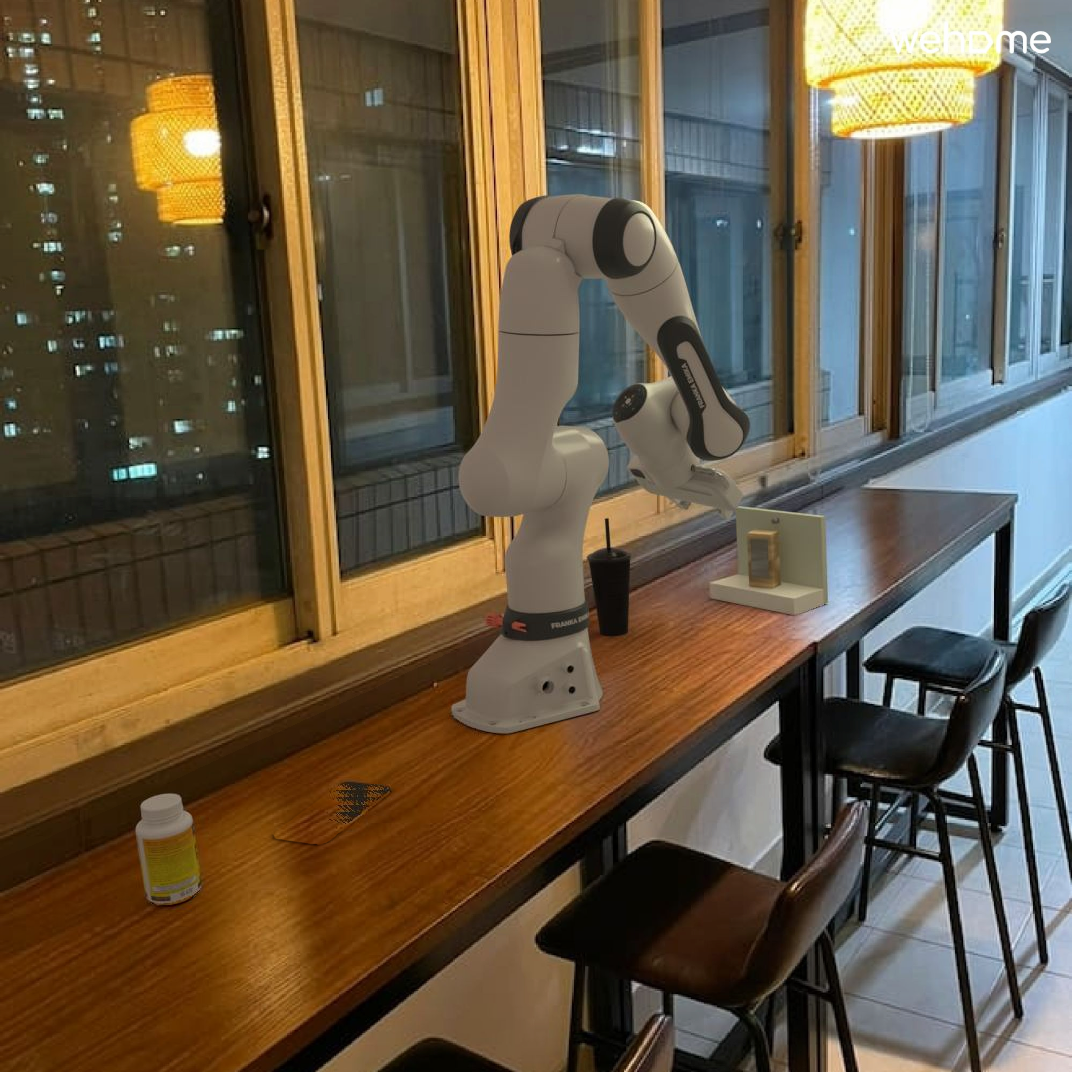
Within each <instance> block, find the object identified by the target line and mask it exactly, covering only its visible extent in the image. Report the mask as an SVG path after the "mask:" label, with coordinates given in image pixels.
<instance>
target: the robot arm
mask: <svg viewBox="0 0 1072 1072" xmlns="http://www.w3.org/2000/svg"><path fill="white" fill-rule="evenodd" d="M508 238H509V240H508V241H509V249H510V252H511V257H510V258H509V259H508V261H507V262H506V265H505V269H504V270H505V271H504V275H503V279H502V283H501V291H500V292H501V293H500V298H499V300H500V301H499V306H498V307H499V309H498V312H499V313H498V325H497V326H498V331H497V332H498V333H497V335H498V337H497V339H498V340H497V367H496V369H497V370H496V384H495V389H494V390H495V392H494V396H493V400H492V402H491V407H490V409H489V413H488V416H487V419H486V421H485V423H484V426H483V429H482V430H481V433H480V435H479V436H478V438H477V440H476V442H475V443H474V445H473V446H472V447H471V448H470V449H469V450H468V451H467V452H466V453H465V455H464V456H463V458H462V460H461V462H460V465H459V468H458V469H459V470H458V486H459V490H460V491H459V492H460V493H461V495H462V498H463V499H464V501H465V503H466V504H467V506H468V507H469V508H470V509H471V510H472V511H473V512H474V513H476V514H477V515H479V516H484V517H491V518H493V517H495V518H511V517H512V518H513V517H518V516H520V515H521V516H522V517H521V521H520V524H519V528H518V530H517V532H516V535H515V536H514V538H513V539H512V540H511V541H510V543H509V545H508V546H507V548H506V550H505V554H504V570H505V580H506V583H505V584H506V591H507V592H506V593H507V594H506V595H507V605H506V606H505V611H504V614H503V616H502V614H500V613H496V612H493V611H491V612H489V613H487V614H486V616H485V620H484V622H485V624H486V625H487V626H488V627H491V628H492V627H494V628H495V629H499V628H500V629H499V633H500V635H498V637H497V638H496V639H495V640H494V641H493V642H492V644H491V645H490V646H489V647H488V648H487V650H486V651H485V652H484V653H483V654H482V655H481V656H480V657H479V659H478V660H477V661H476V662H475V663H474V664H473V666H471V667H470V669H469V670H468V673H467V677H466V683H465V684H466V685H465V699H462V700H460V701H458V702H456V703H453V704H452V705H451V706H450V707H451V712H452V713H451V716H452V715H453V716H454V717H453V716H452V717H453V719H455V718H456V719H457V720H459V721H460V722H459V721H458V722H459V723H461V722H463V723H464V724H463V723H462V724H463V725H465V724H466V725H465V726H468V727H470V728H473V729H475V728H476V730H480V731H483V732H487V733H488V732H489V733H495V734H512V733H515V732H519V731H520V732H521V731H524V730H527V729H531V728H535V727H539V726H544V725H546V724H550V723H555V722H559V721H562V720H567V719H569V718H574V717H578V716H582V715H585V714H588V713H589V714H590V713H593V712H596V711H599V710H600V709H601V704H600V700H601V698H602V697H603V695H604V691H603V688H602V685H601V684H600V680H599V678H598V674H597V671H596V667H595V663H594V659H593V654H592V647H591V642H590V636H589V626H590V623H591V620H590V611H589V610H590V609H589V601H588V599H587V598H585V596H586V595H585V583H584V582H585V579H584V559H583V558H584V556H583V552H584V551H583V549H584V538H585V532H586V527H587V524H588V523H587V522H588V518H589V514H590V511H591V507H592V504H593V501H594V498H595V496H596V494H597V491H598V490H599V489H600V487H601V485H602V484H603V483H604V481H605V480H606V479H607V476H608V472H609V468H610V467H609V466H610V455H609V453H608V449H607V447H606V445H605V442H604V441H603V439H602V438H601V436H600V435H598V434H597V433H596V432H595V431H593V430H591V429H590V428H587V427H581V426H574V425H573V426H572V425H558V421H559V418H560V416H561V414H562V412H563V410H564V409H565V406H566V405H567V403H568V402H569V401H570V400H571V399H572V398H573V396H574V395H575V393H576V391H577V388H578V386H579V385H578V384H579V362H580V361H579V360H580V359H579V358H580V356H579V355H580V354H579V353H580V323H581V322H580V303H579V302H580V301H579V291H578V290H579V288H580V285H581V282H582V280H583V279H586V280H587V279H588V280H590V279H591V280H592V279H604V282H605V284H606V287H607V289H608V291H609V294H610V295H611V297H612V300H613V301H614V303H615V305H616V306H617V308H618V309H619V312H621V314H622V315H623V317H624V318H625V320H627V322H628V324H630V325H631V327H632V328H633V330H634V331H635V332H636V333H637V334H638V335H639V336H640V338H642V339H643V341H644V342H645V343H646V344H647V345H648V346H649V347H650V348H651V350H652V351H653V352H654V353H655V355H657V357H658V358H659V360H660V361H661V362H662V363H663V364H664V366H665V368H666V369H667V371H668V373H669V376H668V377H666V378H663V379H660V380H658V381H655V382H650V383H646V382H645V383H644V382H641V383H640V382H638V383H633V384H631V385H629V386H628V387H626V388H625V389H624V390H623V391H621V392H620V394H618V396H617V397H616V400H614V403H613V407H612V413H611V415H612V422H613V425H614V427H615V429H616V431H617V432H618V435H619V436H620V438H621V440H622V441H623V442H624V444H625V445H626V447H627V448H628V450H629V451H630V452H631V453H632V454H634V455H633V456H632V458H631V459H630V461H629V463H628V465H627V466H626V470H627V471H628V473H629V474H630V475H631V476H633V477H634V478H635V480H636V482H637V483H638V484H639V485H640V486H641V488H642V489H644V490H645V491H646V492H648V493H650V494H651V495H657V496H662V497H666V498H667V499H669V500H670V501H671V502H673V503H674V504H676V506H677V507H678V509H680V510H686V511H687V510H688V509H689V508H690V506H691V504H693V503H694V504H697V505H701V506H706V507H710V508H715V509H718V512H717V514H718V515H719V517H720V518H721V519H725V520H730V519H731V517H732V516H733V513H734V511H736V507H739V506H740V505H739V504H740V503H741V501H742V500H743V497H744V493H743V491H742V489H741V488H740V486H738V485H737V483H736V482H735V480H733V479H732V478H731V476H729V474H728V473H726V471H724V470H722V469H719V468H717V467H712V466H711V467H710V466H707V465H700V463H701V461H700V460H702V461H705V462H706V461H707V462H710V461H711V462H714V461H721V460H725V459H728V458H730V457H731V456H733V455H735V454H736V453H737V452H739V451H740V449H741V448H742V447H743V445H744V444H745V442H746V441H747V438H748V437H749V434H750V429H751V422H750V418H749V417H748V415H747V413H746V412H745V411H744V410H743V409H742V408H741V407H740V406H739V405H738V404H737V403H736V401H734V399H733V398H732V397H731V395H729V393H728V392H727V391H726V389H725V388H724V387H723V386H722V383H721V380H720V379H719V376H718V375H717V372H716V370H715V367H714V365H713V362H712V360H711V358H710V356H709V354H708V353H709V352H708V351H707V349H706V345H705V344H704V341H703V338H702V335H701V332H700V331H701V330H700V327H699V325H698V321H697V318H696V314H695V312H694V307H693V305H692V301H691V298H690V294H689V293H690V292H689V291H688V287H687V284H686V279H685V276H684V274H683V273H684V272H683V270H682V267H681V263H680V262H679V259H678V256H677V253H676V251H675V250H674V246H673V243H672V242H671V240H670V238H669V236H668V234H667V232H666V230H665V228H664V227H663V225H662V224H661V222H660V220H659V219H658V217H657V216H656V215H655V213H654V211H653V210H652V209H651V208H650V207H649V206H648V205H647V204H646V203H644V202H642V201H638V200H635V199H634V200H633V199H632V200H631V199H628V198H624V197H615V198H611V197H609V198H608V197H603V196H595V195H588V194H582V193H578V194H562V195H555V196H552V195H541V196H536V197H533V198H530V199H528V200H526V201H524V202H522V203H521V204H520V205H519V206H518V208H517V209H516V211H515V212H514V215H513V217H512V220H511V223H510V227H509V237H508ZM738 505H739V506H738ZM456 719H455V720H456ZM457 720H456V721H457Z"/></svg>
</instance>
